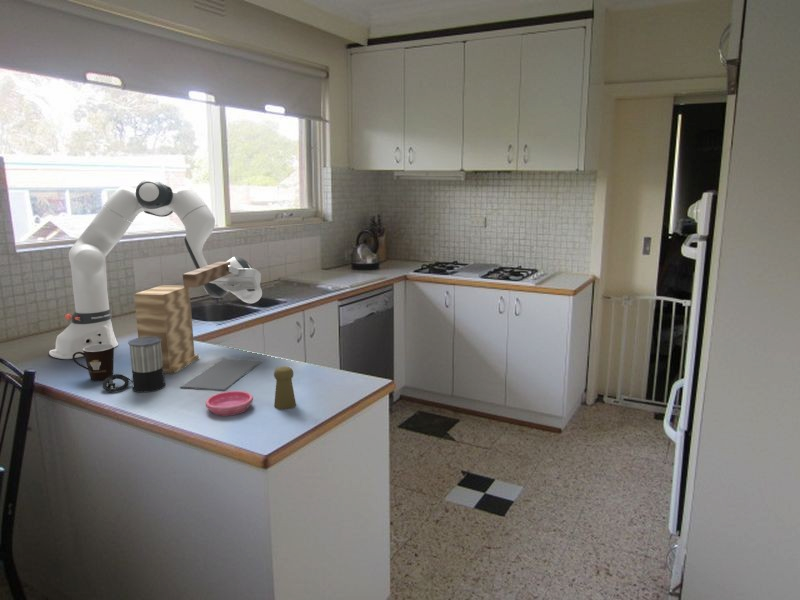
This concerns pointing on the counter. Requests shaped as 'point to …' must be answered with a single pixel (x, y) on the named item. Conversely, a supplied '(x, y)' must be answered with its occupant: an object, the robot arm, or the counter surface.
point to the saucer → (229, 402)
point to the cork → (284, 388)
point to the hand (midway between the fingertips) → (220, 267)
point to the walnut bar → (205, 274)
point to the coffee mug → (98, 361)
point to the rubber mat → (221, 374)
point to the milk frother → (142, 367)
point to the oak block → (167, 323)
